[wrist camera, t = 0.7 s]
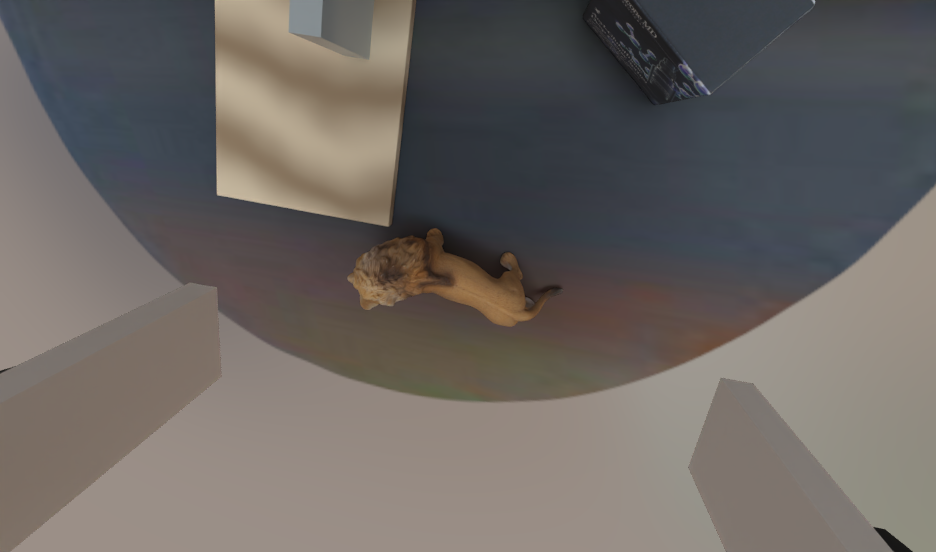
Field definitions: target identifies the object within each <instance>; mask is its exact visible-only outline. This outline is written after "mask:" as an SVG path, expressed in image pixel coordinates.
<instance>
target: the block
mask: <svg viewBox="0 0 936 552" xmlns="http://www.w3.org/2000/svg"><path fill="white" fill-rule="evenodd" d="M373 10H374V0H290V7H289V33H291V34H294V35H296V36H299V37H301V38H303V39H306V40H308V41H310V42H313V43H315V44H317V45H320V46H322V47H325V48H327V49H329V50H332V51H334V52H336V53H339V54H341V55H344V56H348V57H354V58H361V59H367V60H369V57H370V46H371V34H372V22H373Z"/></svg>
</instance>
